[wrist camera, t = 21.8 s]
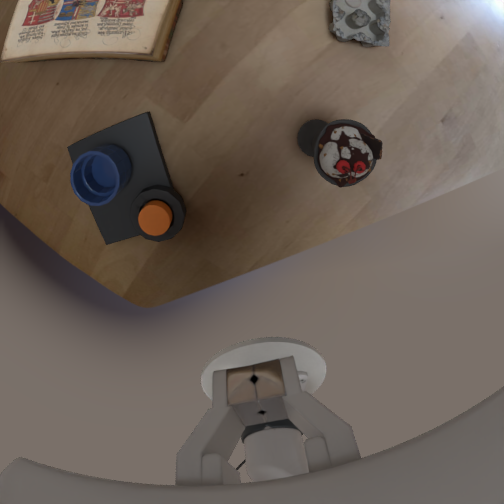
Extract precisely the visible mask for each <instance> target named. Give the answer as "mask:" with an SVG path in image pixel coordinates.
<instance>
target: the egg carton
mask: <svg viewBox="0 0 504 504" xmlns="http://www.w3.org/2000/svg"><path fill="white" fill-rule="evenodd" d="M329 4H330V10H331V11H333V23H331V24H329V25H330V26H329V30H330V32H332V33H334V34H335V35H336V37H337V39H338V40H339V41H343V42H346V41H348V40H351V39H356V40H357V41H361V43H362V45H363V46H365V47H372V46H389V34H388V32H389V29H390V28H389V24H390V22H391V21H390V0H332V1H331V2H330V3H329Z"/></svg>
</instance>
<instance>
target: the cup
mask: <svg viewBox="0 0 504 504" xmlns="http://www.w3.org/2000/svg"><path fill="white" fill-rule="evenodd" d="M70 174H71V185H72V188H73V190H74V193H75V194H76V195H77V197H78V198H79V199H80V200H81V201H82V202H84V203H86V204H88V205H91V206H101V205H104V204H107V203H109V202H110V201H111V200H112V199H113V198H114V197H115V196H116V195H117V194H118V193H119V192H120V191H121V190H122V189H123V188H124V187H125V186H126V185H127V183H128V181H129V179H130V177H131V163H130V160H129V157H128V155H127V154H126V153H125V152H124V151H123V149H121V148H119V147H117V146H115V145H113V144H104V145H101V146H99V147H97V148H95V149H93V150H90V151H88V152H86V153H84V154H82V155H80V156H79V157H78V159H77V160H76V161H75V162H74V164H73V167H72V170H71V173H70Z"/></svg>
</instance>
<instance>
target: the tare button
mask: <svg viewBox="0 0 504 504" xmlns="http://www.w3.org/2000/svg"><path fill="white" fill-rule="evenodd" d="M171 221H172V211H171V209H170V207H169V206H168V205H167V204H166V203H164V202H162V201H159V200H153V201H150V202H148V203H147V204H145V206H144V207H143V208H142V210H141V211H140V213H139V216H138V222H139V225H140V227H141V229H142V230H143V231H144V232H145V233H147V234H149V235H153V236H158V235H161V234H163V233H165V232H166V231H167V230H168V228H169V226H170V223H171Z"/></svg>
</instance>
